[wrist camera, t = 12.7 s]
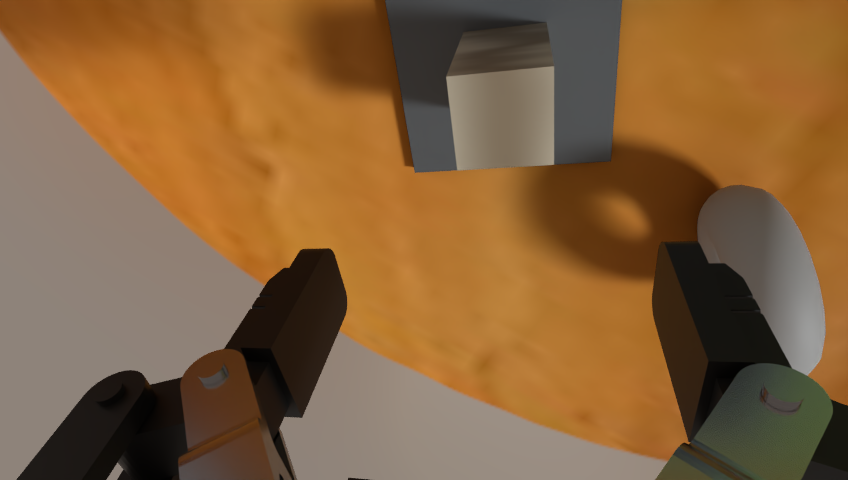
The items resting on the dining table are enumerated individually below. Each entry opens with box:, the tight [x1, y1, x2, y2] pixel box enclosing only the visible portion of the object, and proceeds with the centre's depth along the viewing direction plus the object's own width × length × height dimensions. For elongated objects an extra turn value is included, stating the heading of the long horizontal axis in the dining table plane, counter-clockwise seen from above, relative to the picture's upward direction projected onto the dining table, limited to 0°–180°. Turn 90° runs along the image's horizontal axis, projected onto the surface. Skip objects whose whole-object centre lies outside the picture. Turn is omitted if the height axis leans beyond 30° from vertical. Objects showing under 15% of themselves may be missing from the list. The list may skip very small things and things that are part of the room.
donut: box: [697, 185, 826, 375], centre depth 25 cm, size 10×4×10 cm, turn 22°
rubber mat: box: [385, 0, 622, 173], centre depth 26 cm, size 11×11×1 cm
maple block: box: [446, 22, 554, 170], centre depth 23 cm, size 4×4×7 cm
